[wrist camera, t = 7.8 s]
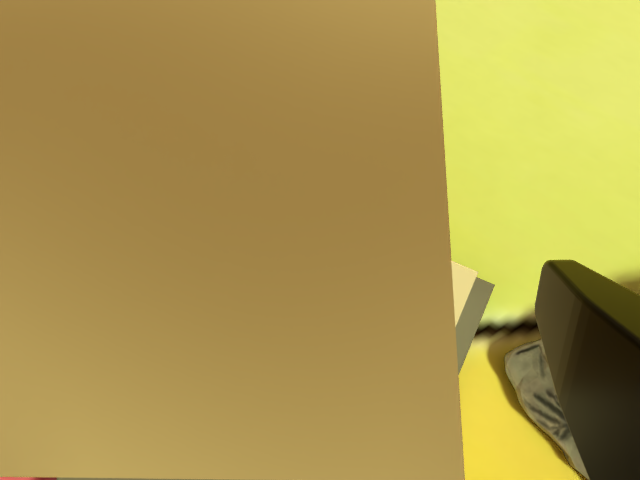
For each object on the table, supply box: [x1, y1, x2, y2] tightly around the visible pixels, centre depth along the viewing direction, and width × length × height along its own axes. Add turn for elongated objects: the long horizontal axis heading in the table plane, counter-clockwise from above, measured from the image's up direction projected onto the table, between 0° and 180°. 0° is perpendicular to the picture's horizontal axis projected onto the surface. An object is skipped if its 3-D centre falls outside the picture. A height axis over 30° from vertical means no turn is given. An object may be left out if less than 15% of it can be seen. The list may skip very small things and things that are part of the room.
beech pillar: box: [0, 0, 465, 480], centre depth 10 cm, size 4×4×14 cm
